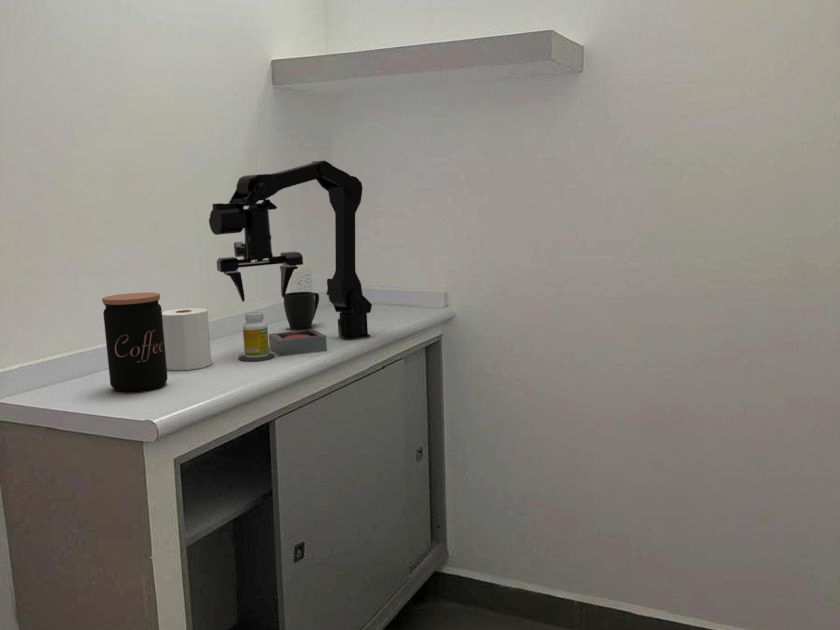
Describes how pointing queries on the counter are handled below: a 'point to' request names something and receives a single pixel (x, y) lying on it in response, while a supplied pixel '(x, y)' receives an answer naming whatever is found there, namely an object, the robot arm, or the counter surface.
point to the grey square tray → (297, 342)
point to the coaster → (243, 358)
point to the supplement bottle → (255, 336)
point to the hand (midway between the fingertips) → (263, 299)
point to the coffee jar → (135, 342)
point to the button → (296, 336)
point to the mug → (300, 309)
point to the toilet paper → (186, 338)
